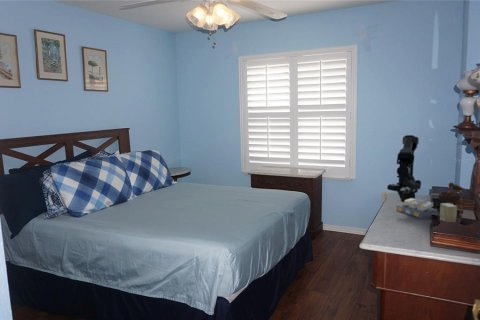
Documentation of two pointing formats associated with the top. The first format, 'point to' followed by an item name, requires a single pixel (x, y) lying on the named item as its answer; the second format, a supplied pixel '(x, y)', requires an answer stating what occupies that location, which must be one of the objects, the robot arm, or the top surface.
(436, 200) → the electrical switch
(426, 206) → the rocker right
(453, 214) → the skincare box
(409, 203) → the rocker left
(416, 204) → the rocker middle
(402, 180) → the robot arm
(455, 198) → the music box
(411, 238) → the top surface
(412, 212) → the console
